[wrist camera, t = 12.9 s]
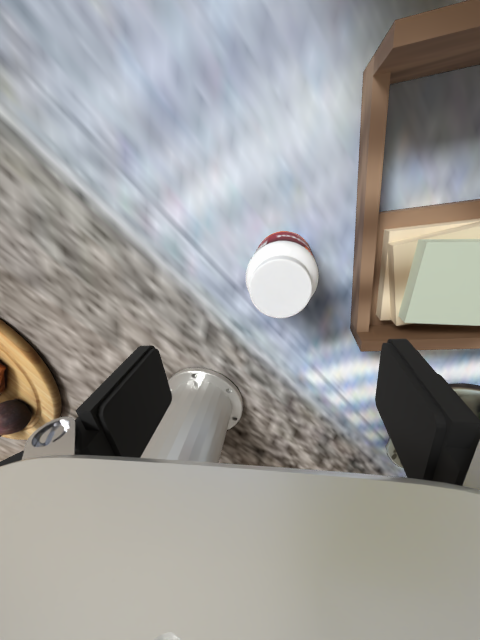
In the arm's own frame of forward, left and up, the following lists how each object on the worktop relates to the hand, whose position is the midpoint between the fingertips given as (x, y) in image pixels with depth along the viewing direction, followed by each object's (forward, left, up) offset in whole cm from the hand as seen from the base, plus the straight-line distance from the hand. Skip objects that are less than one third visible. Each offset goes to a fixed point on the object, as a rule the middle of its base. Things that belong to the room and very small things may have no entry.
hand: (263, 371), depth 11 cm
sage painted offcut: (-2, -16, -16) cm, 23 cm away
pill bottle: (0, -1, -21) cm, 21 cm away
